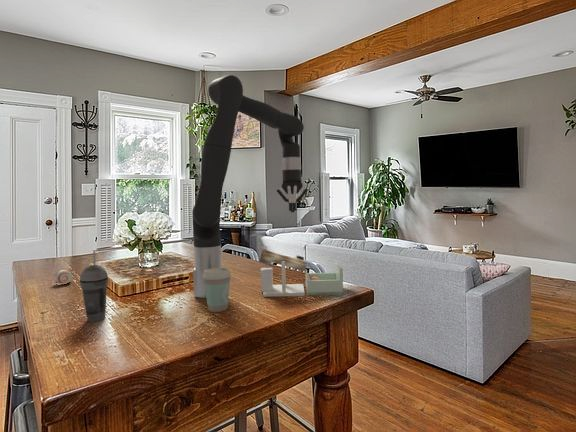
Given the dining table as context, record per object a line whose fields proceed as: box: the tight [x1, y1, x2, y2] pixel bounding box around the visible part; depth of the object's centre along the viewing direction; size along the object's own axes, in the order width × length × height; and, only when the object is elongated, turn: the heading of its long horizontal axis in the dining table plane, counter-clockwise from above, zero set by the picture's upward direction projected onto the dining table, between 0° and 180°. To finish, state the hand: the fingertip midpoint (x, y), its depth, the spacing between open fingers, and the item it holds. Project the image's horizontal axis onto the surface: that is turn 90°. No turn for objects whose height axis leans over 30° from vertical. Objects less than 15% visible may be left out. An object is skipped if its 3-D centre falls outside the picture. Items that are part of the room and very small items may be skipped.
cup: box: [305, 261, 344, 297], centre depth 129 cm, size 12×12×9 cm
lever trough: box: [259, 245, 307, 272], centre depth 131 cm, size 16×13×5 cm
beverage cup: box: [79, 249, 109, 323], centre depth 104 cm, size 7×7×20 cm
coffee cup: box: [202, 267, 232, 313], centre depth 110 cm, size 8×9×12 cm
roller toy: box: [53, 269, 73, 284], centre depth 148 cm, size 4×6×6 cm
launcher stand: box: [259, 261, 306, 298], centre depth 128 cm, size 15×12×12 cm
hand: (292, 212), depth 147 cm, fingers closed
